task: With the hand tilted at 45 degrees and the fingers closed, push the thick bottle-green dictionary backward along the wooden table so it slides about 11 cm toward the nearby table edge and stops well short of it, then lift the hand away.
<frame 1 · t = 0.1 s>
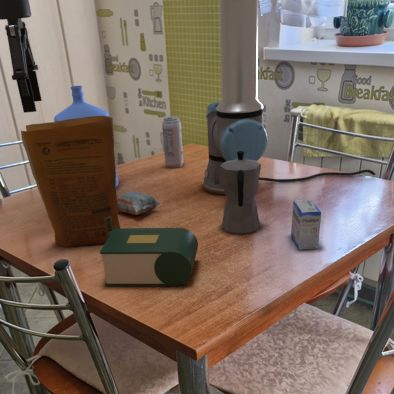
hand: (33, 106, 121), 28 cm above the table, tool pointing down, fingers open, 13 cm apart
water jug: (93, 188, 158), on the table
coffeepot: (240, 229, 126), on the table
medicine box: (304, 243, 118), on the table
energy drink can: (174, 166, 173), on the table
packaged food: (134, 213, 139), on the table
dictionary: (153, 272, 109), on the table
pancake mix bag: (89, 243, 124), on the table
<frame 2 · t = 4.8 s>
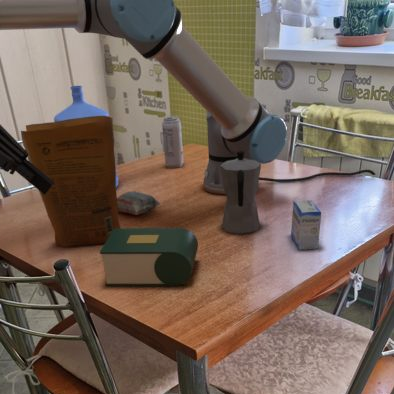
hand: (49, 188, 101), 18 cm above the table, tool tilted 45°, fingers closed
nothing on the table moved.
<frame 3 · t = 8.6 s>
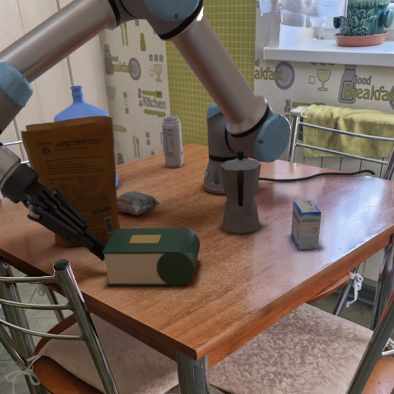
hand: (107, 255, 108), 4 cm above the table, tool tilted 45°, fingers closed
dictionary: (156, 272, 109), on the table, touching gripper
everything else where it was.
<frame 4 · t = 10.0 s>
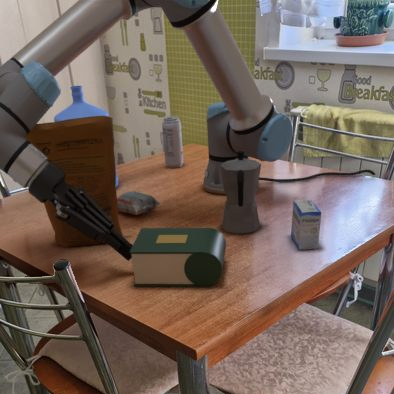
hand: (133, 255, 107), 4 cm above the table, tool tilted 45°, fingers closed
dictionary: (181, 272, 108), on the table, touching gripper
everything else where it was.
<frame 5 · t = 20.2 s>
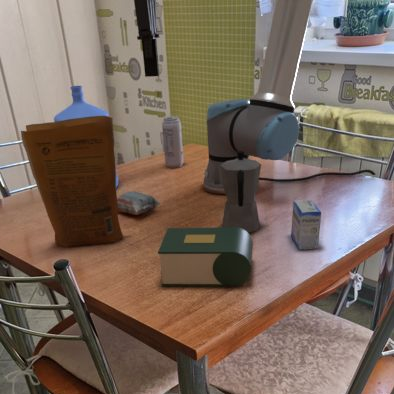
hand: (152, 75, 106), 34 cm above the table, tool pointing down, fingers closed
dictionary: (208, 272, 108), on the table
everything else where it was.
at the end: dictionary moved 11.7 cm from its start; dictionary inside the target area (0.3 cm from its centre), on the table; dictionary tilted 0° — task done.
